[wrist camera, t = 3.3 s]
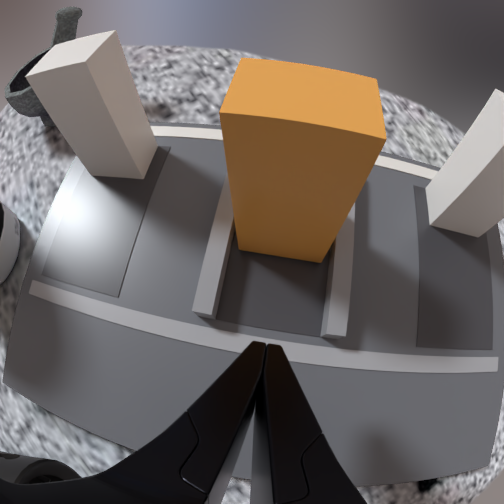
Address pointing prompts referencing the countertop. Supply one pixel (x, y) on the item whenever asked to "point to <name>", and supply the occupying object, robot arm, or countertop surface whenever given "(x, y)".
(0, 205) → the supplement can
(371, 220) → the slotted gray tray
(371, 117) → the orange tall block
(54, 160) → the countertop surface
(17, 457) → the muzzle brake
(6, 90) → the mortar and pestle
